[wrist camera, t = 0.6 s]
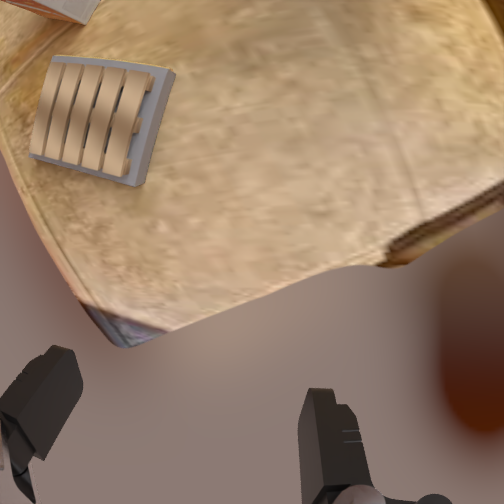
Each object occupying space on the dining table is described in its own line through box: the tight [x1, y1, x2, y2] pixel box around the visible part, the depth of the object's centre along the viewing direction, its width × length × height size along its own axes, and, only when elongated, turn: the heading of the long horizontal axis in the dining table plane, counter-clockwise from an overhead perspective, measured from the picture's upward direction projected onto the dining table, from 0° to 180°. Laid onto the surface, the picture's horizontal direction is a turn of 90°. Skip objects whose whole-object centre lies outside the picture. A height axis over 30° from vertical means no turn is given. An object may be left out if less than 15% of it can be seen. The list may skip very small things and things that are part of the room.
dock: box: [29, 55, 176, 187], centre depth 30 cm, size 13×16×3 cm
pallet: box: [29, 62, 156, 177], centre depth 28 cm, size 11×14×2 cm
